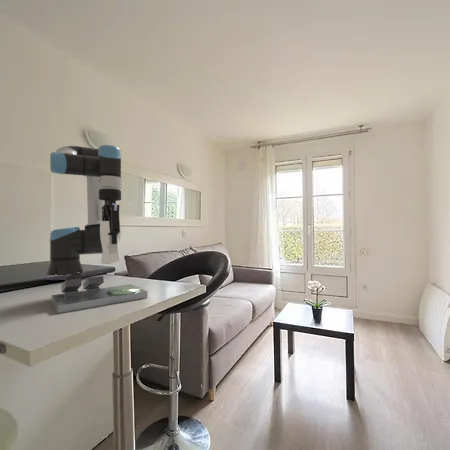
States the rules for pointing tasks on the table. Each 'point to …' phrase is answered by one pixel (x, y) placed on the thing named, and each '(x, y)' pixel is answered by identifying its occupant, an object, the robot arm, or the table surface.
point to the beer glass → (107, 244)
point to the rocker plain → (93, 282)
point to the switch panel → (96, 297)
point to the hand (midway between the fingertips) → (110, 252)
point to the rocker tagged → (71, 285)
